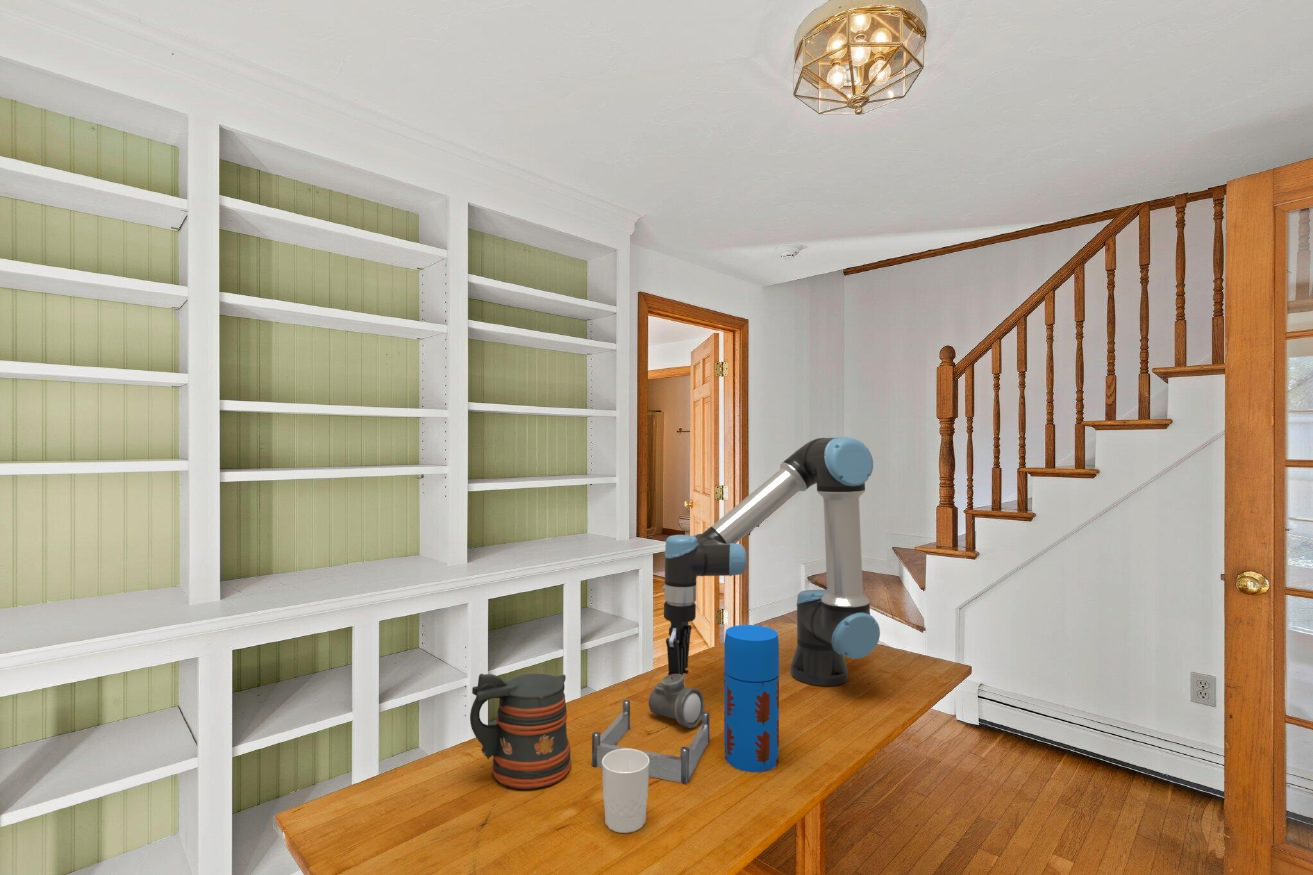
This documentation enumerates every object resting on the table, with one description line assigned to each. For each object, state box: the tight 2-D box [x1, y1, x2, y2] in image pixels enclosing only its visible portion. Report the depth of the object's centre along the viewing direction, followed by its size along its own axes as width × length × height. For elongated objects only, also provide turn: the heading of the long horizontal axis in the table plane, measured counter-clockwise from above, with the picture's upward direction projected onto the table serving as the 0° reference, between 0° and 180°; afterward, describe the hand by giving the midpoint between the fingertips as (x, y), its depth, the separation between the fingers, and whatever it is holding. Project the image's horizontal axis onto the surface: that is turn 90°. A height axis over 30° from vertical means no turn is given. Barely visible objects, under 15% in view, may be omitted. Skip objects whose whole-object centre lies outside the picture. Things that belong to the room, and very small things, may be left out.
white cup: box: [601, 748, 650, 834], centre depth 101 cm, size 8×8×10 cm
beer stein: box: [469, 673, 572, 790], centre depth 115 cm, size 19×15×20 cm
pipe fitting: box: [648, 674, 705, 729], centre depth 137 cm, size 12×8×10 cm
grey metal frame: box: [591, 699, 711, 785], centre depth 123 cm, size 18×20×6 cm
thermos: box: [723, 624, 780, 773], centre depth 121 cm, size 11×11×25 cm
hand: (677, 702), depth 142 cm, fingers closed
